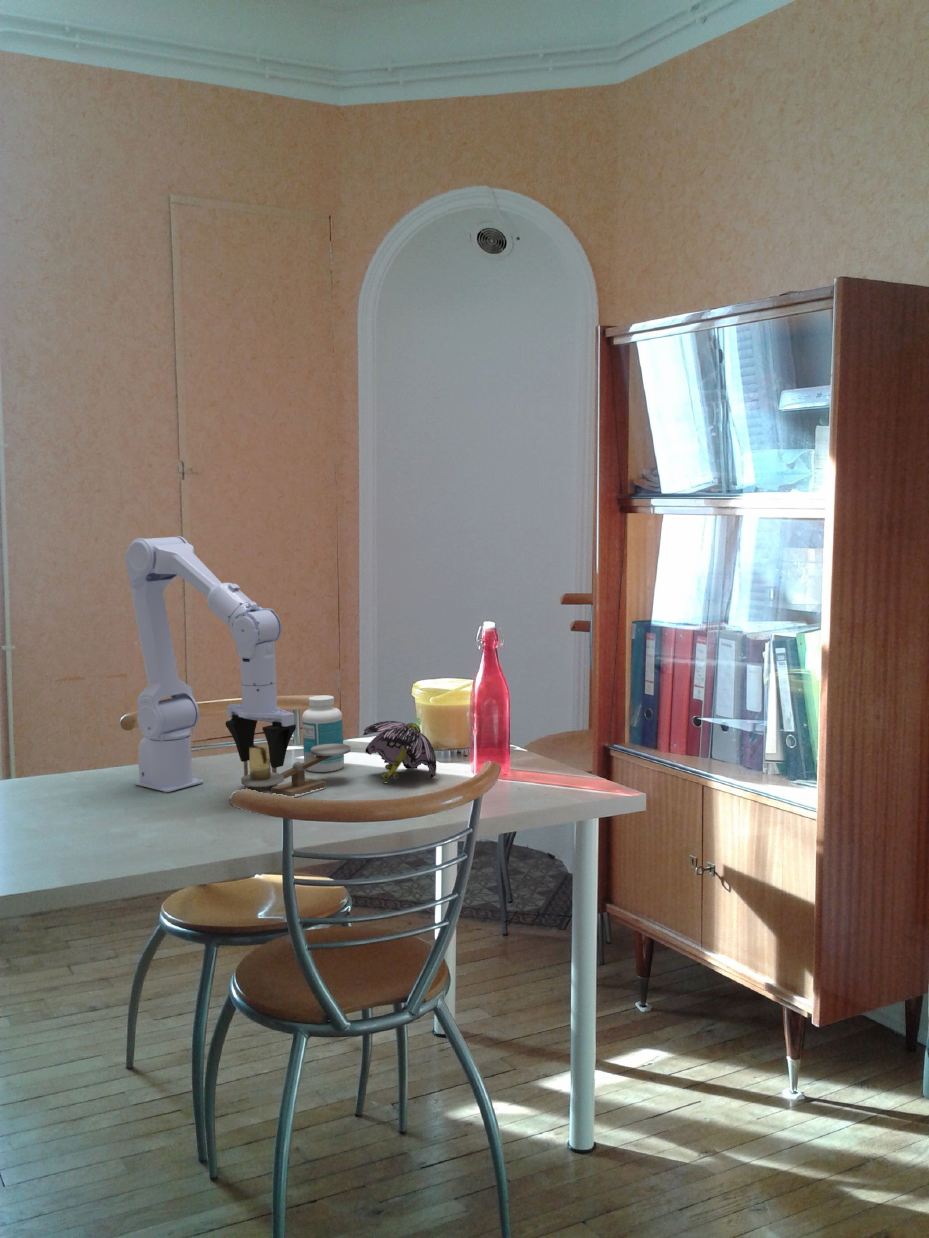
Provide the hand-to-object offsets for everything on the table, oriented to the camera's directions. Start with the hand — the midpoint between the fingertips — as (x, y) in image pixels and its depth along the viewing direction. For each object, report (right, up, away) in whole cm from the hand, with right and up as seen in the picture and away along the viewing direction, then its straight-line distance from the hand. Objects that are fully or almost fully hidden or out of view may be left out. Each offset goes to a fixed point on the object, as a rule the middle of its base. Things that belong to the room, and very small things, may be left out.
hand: (261, 763), depth 186 cm
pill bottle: (+7, -4, +23) cm, 24 cm away
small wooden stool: (-2, -6, +10) cm, 11 cm away
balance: (+5, -6, +7) cm, 10 cm away
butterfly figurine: (+23, -5, +15) cm, 27 cm away
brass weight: (0, -2, 0) cm, 2 cm away
